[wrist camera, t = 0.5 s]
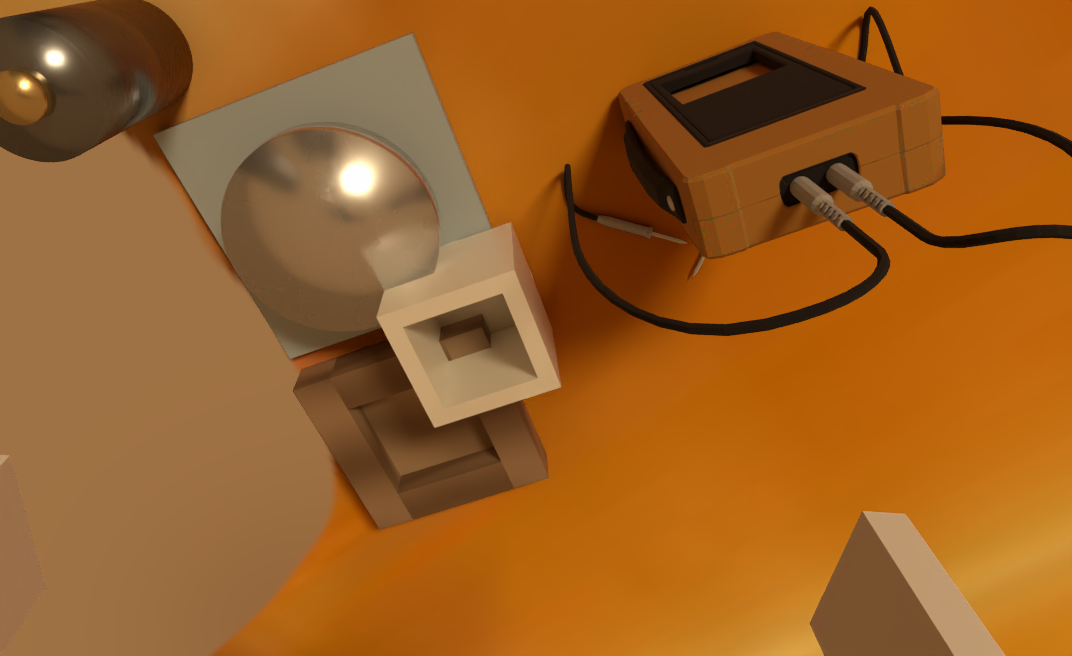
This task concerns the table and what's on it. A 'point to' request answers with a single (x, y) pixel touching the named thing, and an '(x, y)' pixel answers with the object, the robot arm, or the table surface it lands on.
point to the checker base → (345, 97)
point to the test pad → (329, 224)
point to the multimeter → (787, 156)
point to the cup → (463, 292)
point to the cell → (86, 75)
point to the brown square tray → (416, 433)
